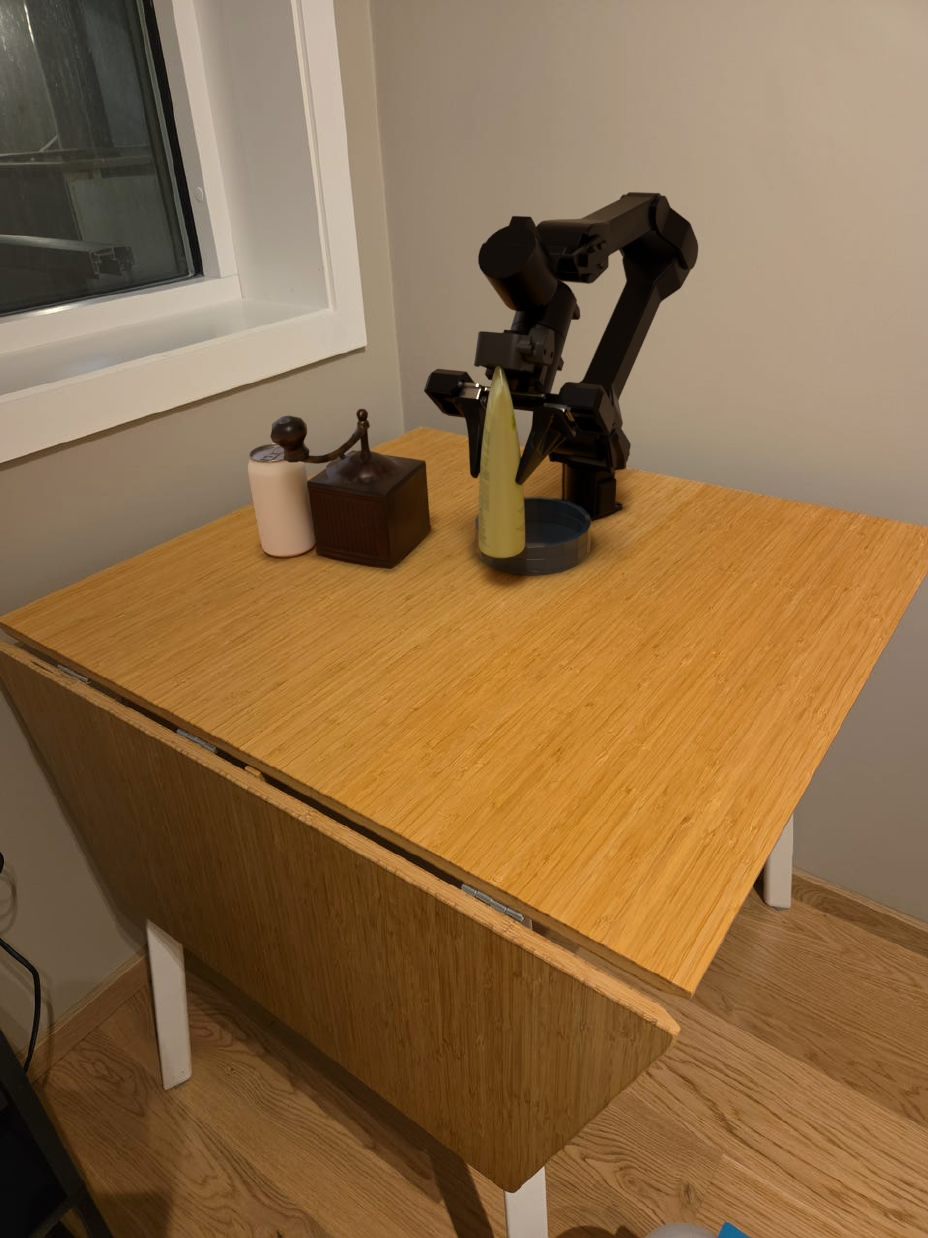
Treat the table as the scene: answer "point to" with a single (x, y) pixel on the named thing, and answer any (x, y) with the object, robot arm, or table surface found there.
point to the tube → (500, 476)
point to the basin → (546, 538)
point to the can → (281, 502)
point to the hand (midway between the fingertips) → (495, 480)
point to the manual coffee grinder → (361, 497)
